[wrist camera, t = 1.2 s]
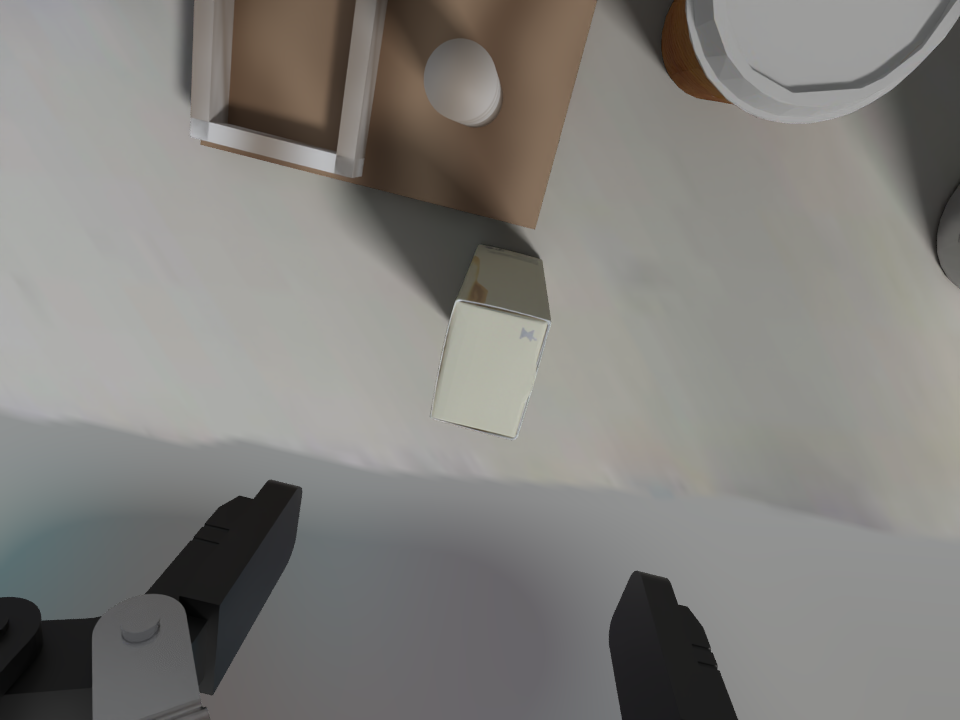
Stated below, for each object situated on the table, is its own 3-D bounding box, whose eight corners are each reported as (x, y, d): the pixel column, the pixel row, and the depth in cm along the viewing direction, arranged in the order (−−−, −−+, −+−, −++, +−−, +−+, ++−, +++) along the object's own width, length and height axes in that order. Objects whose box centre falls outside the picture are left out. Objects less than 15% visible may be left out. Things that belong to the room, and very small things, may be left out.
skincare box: (477, 241, 34) (454, 289, 22) (544, 258, 34) (555, 314, 23) (455, 336, 36) (425, 422, 25) (518, 351, 36) (517, 444, 25)
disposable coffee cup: (597, 81, 30) (642, 41, 19) (697, -113, 27) (824, -299, 16) (741, 162, 31) (864, 170, 20) (856, -15, 28) (1081, -125, 17)
